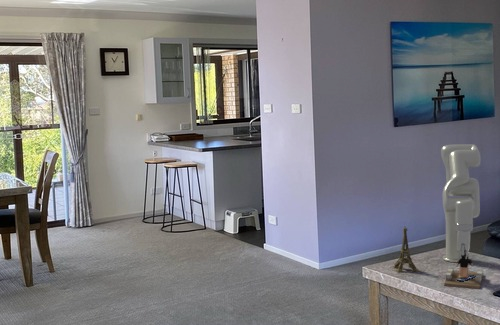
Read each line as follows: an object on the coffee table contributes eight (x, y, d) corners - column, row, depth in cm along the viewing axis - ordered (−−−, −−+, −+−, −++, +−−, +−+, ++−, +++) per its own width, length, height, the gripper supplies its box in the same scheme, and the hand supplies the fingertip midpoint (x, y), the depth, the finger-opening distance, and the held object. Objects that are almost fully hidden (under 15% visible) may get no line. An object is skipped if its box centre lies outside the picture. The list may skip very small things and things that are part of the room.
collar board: (450, 272, 308) (450, 265, 308) (483, 275, 302) (483, 267, 302) (444, 285, 289) (444, 278, 288) (479, 288, 282) (479, 281, 282)
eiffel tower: (397, 272, 312) (396, 222, 309) (392, 266, 323) (391, 218, 320) (419, 271, 312) (418, 221, 309) (413, 266, 323) (412, 217, 320)
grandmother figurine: (458, 279, 293) (458, 252, 291) (455, 276, 297) (455, 250, 295) (474, 278, 294) (474, 251, 292) (471, 275, 297) (471, 249, 295)
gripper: (457, 223, 302) (457, 261, 304) (453, 230, 287) (453, 270, 289) (474, 223, 299) (474, 262, 300) (471, 231, 284) (471, 271, 286)
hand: (464, 265), depth 295 cm, fingers open, 3 cm apart
